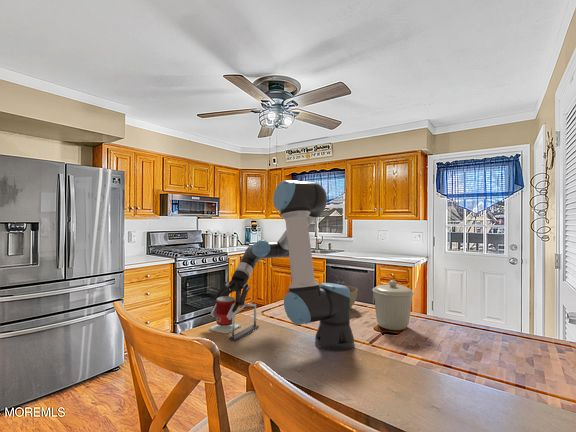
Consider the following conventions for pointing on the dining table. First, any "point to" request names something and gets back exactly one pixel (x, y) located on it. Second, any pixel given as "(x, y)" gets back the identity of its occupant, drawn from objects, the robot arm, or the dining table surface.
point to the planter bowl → (352, 295)
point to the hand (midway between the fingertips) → (220, 317)
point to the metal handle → (245, 331)
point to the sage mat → (223, 328)
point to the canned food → (224, 310)
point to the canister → (393, 305)
